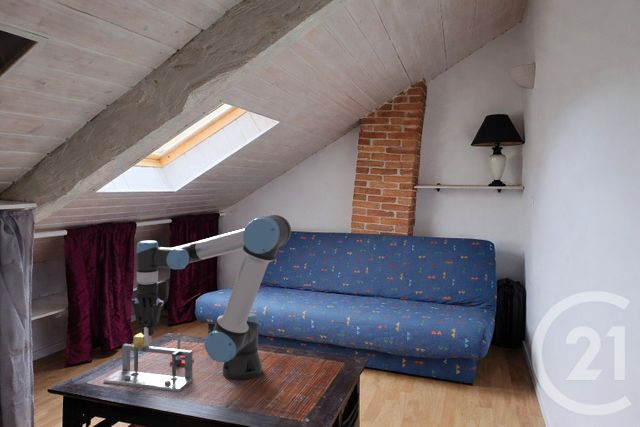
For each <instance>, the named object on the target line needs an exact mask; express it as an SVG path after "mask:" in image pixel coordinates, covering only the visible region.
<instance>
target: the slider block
mask: <svg viewBox="0 0 640 427" xmlns="http://www.w3.org/2000/svg"><path fill="white" fill-rule="evenodd" d="M133 345H134V351H133V372H135V374H137V372H139V351H138V349H139V348H144V347H146V346H150V344H148V345H144V335H143V334H142V332H139V333H137V334H135V335H133Z"/></svg>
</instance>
